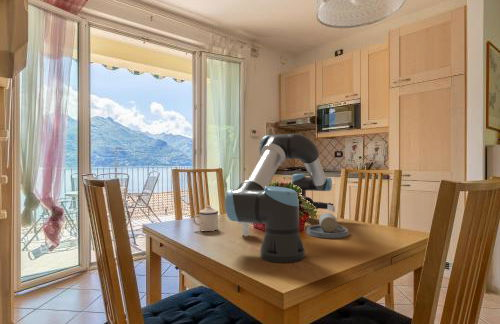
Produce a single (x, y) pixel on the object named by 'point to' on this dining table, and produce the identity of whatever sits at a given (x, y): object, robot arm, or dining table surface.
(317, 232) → the saucer
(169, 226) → the dining table surface
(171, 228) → the dining table surface
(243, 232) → the strainer
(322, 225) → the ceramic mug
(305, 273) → the dining table surface
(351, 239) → the dining table surface
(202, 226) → the teacup with lid
